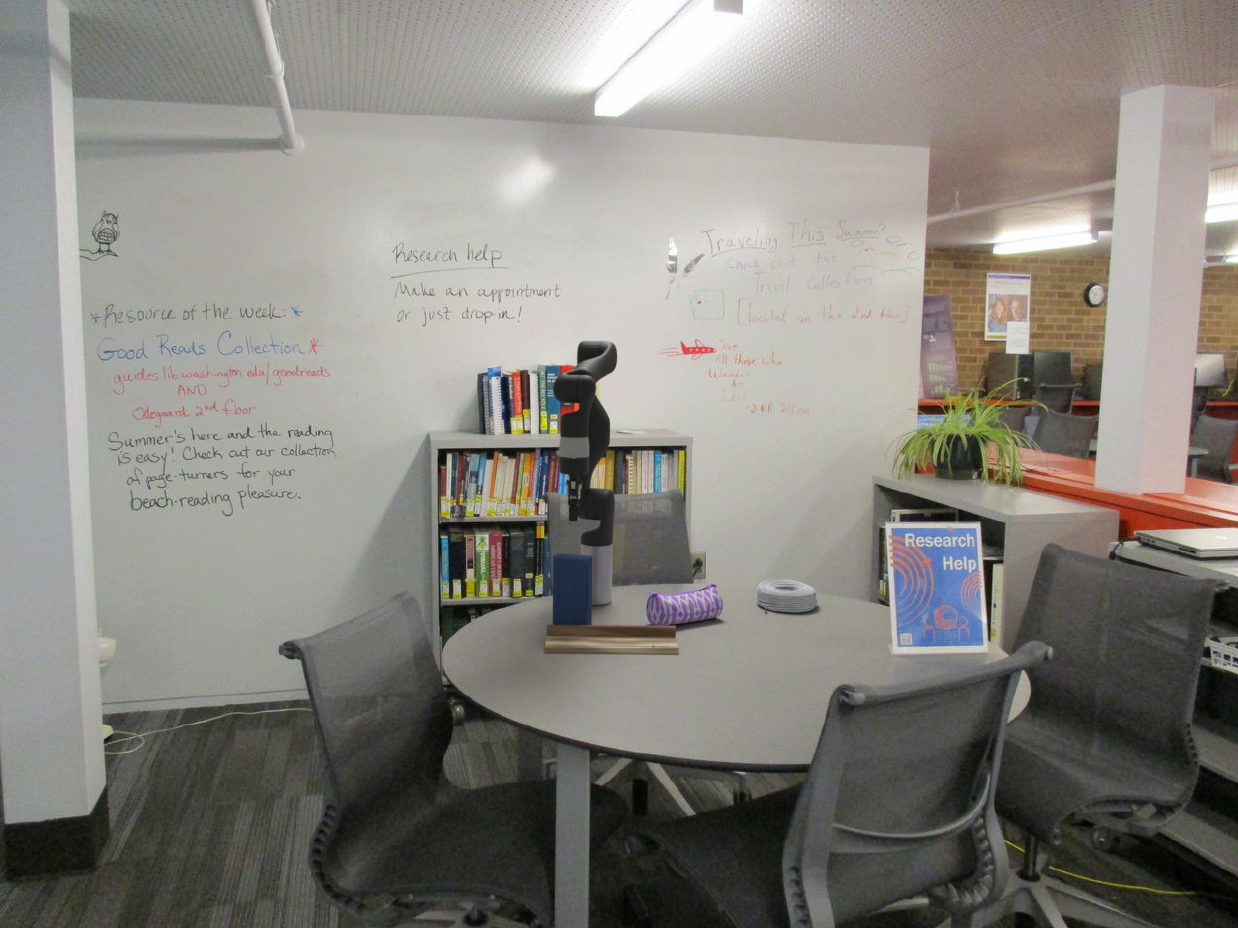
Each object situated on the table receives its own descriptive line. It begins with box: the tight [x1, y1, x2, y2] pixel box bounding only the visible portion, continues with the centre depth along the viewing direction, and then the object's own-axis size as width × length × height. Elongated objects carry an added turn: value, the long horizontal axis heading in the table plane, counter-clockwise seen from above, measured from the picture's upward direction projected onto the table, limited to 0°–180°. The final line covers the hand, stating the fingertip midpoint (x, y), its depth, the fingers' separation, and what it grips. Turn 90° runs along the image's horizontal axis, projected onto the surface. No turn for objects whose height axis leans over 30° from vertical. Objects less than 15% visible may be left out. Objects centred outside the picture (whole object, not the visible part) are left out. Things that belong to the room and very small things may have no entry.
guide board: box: [544, 624, 680, 655], centre depth 213 cm, size 10×32×4 cm, turn 91°
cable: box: [755, 578, 818, 613], centre depth 254 cm, size 18×18×6 cm
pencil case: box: [645, 583, 724, 626], centre depth 235 cm, size 22×9×10 cm, turn 125°
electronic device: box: [552, 552, 593, 625], centre depth 224 cm, size 10×5×20 cm, turn 74°
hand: (573, 518), depth 222 cm, fingers open, 8 cm apart
